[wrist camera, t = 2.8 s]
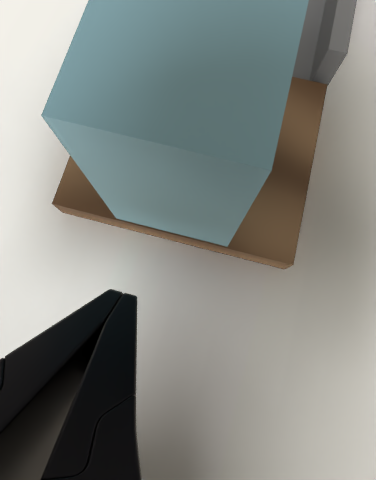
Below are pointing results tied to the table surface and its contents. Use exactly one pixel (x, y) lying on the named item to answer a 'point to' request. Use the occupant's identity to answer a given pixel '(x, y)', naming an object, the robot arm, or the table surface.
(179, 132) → the block
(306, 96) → the board
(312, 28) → the box
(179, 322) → the table surface
